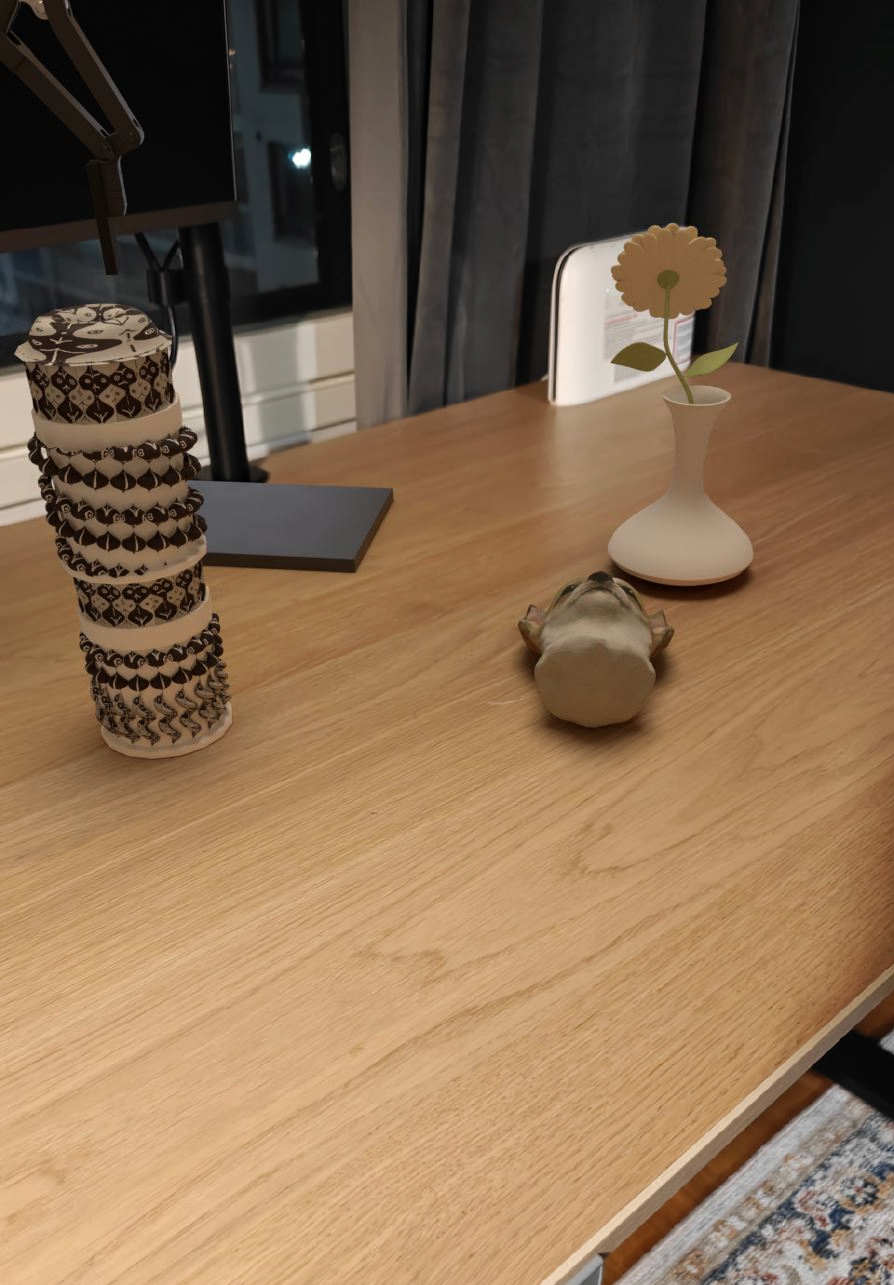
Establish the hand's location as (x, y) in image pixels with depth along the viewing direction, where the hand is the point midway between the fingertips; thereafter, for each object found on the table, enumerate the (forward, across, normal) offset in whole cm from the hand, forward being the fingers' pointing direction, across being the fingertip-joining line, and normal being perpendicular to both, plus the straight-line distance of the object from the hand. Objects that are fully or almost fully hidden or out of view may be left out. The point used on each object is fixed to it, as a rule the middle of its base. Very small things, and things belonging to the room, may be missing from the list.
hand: (11, 278), depth 76 cm
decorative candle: (+23, +8, -21) cm, 32 cm away
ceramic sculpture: (+24, +36, -21) cm, 48 cm away
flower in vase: (+24, +46, -4) cm, 52 cm away
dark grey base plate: (+23, +13, +11) cm, 29 cm away
